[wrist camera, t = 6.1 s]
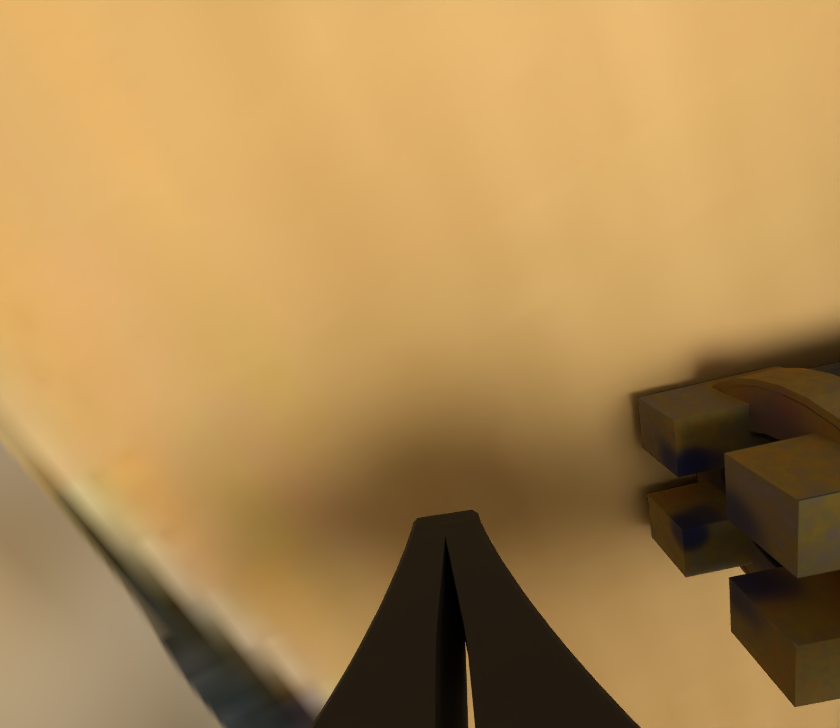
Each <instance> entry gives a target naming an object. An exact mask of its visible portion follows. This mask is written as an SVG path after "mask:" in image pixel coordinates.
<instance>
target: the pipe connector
mask: <svg viewBox="0 0 840 728" xmlns="http://www.w3.org/2000/svg"><path fill="white" fill-rule="evenodd" d="M638 406H639V416H640V426H641V436H642V446H643V448H644V449H645V450H646V451H648V452H649V453H650V454H651V455H652V456H653V457H655V458H656V459H657V460H658V461H659V462H661V463H662V464H663V465H664V466H665V467H666V468H668V469H669V470H670V471H671V472H672V473H674V474H675V475H676V476H677V477H682V476H687V475H691V474H696V475H697V483H694V484H690V485H685V486H680V487H676V488H671V489H667V490H662V491H657V492H653V493H648V494H647V495H648V505H649V515H650V524H651V534H652V538H653V539H654V540H655V541H656V542H657V544H658V545H659V546H660V547H661V548H662V550H663V551H664V552H665V553H666V554H667V556H668V557H669V558H670V559H671V560H672V561H673V563H674V564H675V565H676V566H677V567H678V569H679V570H680V571H681V572H682V573H683V575H684V576H685V577H689V576H694V575H699V574H704V573H709V572H714V571H719V570H723V569H728V568H733V567H738V566H740V567H741V569H742V570H743V571H744V572H745V574H744V575H739V576H734V577H730V578H729V588H730V614H731V632H732V633H733V634H734V635H735V636H736V638H737V639H738V640H739V641H740V642H741V644H742V645H743V646H744V647H745V648H746V649H747V651H748V652H749V653H750V654H751V655H752V657H753V658H754V659H755V660H756V661H757V663H758V664H759V665H760V666H761V667H762V669H763V670H764V671H765V672H766V673H767V674H768V676H769V677H770V678H771V679H772V680H773V682H774V683H775V684H776V685H777V686H778V688H779V689H780V690H781V691H782V692H783V693H784V695H785V696H786V697H787V698H788V699H789V701H790V702H791V703H792V704H793V705H794V707H797V706H803V705H808V704H813V703H819V702H824V701H829V700H835V699H840V362H837V363H833V364H828V365H824V366H819V367H815V368H811V369H806V368H783V367H780V366H772V367H768V368H764V369H759V370H755V371H751V372H746V373H742V374H738V375H733V376H729V377H725V378H720V379H716V380H711V381H707V382H703V383H698V384H694V385H690V386H685V387H681V388H677V389H672V390H668V391H664V392H659V393H655V394H651V395H646V396H642V397H638Z"/></svg>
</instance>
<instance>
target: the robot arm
mask: <svg viewBox="0 0 840 728" xmlns="http://www.w3.org/2000/svg"><path fill="white" fill-rule="evenodd" d="M465 642H466V647H467V652H468V657H469V667H470V677H471V688H472V698H473V708H474V719H475V728H641V727H640V726H638V725H637V724H636V723H635V722H634V721H633V720H632V719H631V717H630V716H629V715H628V714H627V713H626V712H625V711H624V710H623V709H622V708H621V707H620V706H619V705H618V704H617V703H616V702H615V700H614V699H613V698H612V697H611V696H610V695H609V694H608V693H607V692H606V691H605V690H604V689H603V688H602V686H601V685H600V684H599V683H598V682H597V681H596V680H595V679H594V678H593V677H592V675H591V674H590V673H589V672H588V671H587V670H586V669H585V668H584V666H583V665H582V664H581V663H580V662H579V661H578V660H577V658H576V657H575V656H574V655H573V654H572V653H571V652H570V650H569V649H568V648H567V647H566V646H565V644H564V643H563V642H562V641H561V640H560V638H559V637H558V636H557V635H556V633H555V632H554V631H553V630H552V629H551V627H550V626H549V625H548V623H547V622H546V621H545V620H544V618H543V617H542V616H541V614H540V613H539V612H538V611H537V609H536V608H535V607H534V605H533V604H532V603H531V601H530V600H529V599H528V597H527V596H526V595H525V593H524V592H523V590H522V589H521V588H520V586H519V585H518V583H517V582H516V580H515V579H514V577H513V576H512V574H511V573H510V571H509V570H508V569H507V567H506V566H505V564H504V563H503V561H502V559H501V558H500V556H499V555H498V553H497V551H496V550H495V548H494V546H493V544H492V543H491V541H490V539H489V537H488V535H487V534H486V532H485V530H484V528H483V525H482V523H481V521H480V518H479V515H478V513H476V512H475V511H473V510H468V511H461V512H454V513H448V514H441V515H434V516H427V517H421V518H417V519H416V521H415V522H414V523H413V526H412V530H411V533H410V536H409V539H408V542H407V544H406V547H405V550H404V552H403V555H402V557H401V560H400V562H399V565H398V567H397V570H396V572H395V574H394V576H393V579H392V581H391V583H390V585H389V588H388V590H387V592H386V594H385V596H384V599H383V601H382V603H381V605H380V607H379V609H378V611H377V613H376V615H375V617H374V619H373V621H372V623H371V625H370V627H369V628H368V630H367V632H366V634H365V636H364V638H363V640H362V642H361V644H360V646H359V648H358V650H357V651H356V653H355V655H354V657H353V658H352V660H351V662H350V664H349V666H348V667H347V669H346V671H345V672H344V674H343V676H342V678H341V679H340V681H339V683H338V684H337V686H336V687H335V689H334V691H333V692H332V694H331V696H330V697H329V699H328V701H327V702H326V704H325V705H324V707H323V709H322V710H321V712H320V713H319V715H318V716H317V718H316V719H315V721H314V722H313V724H312V725H311V727H310V728H468V706H467V678H466V650H465Z"/></svg>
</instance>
